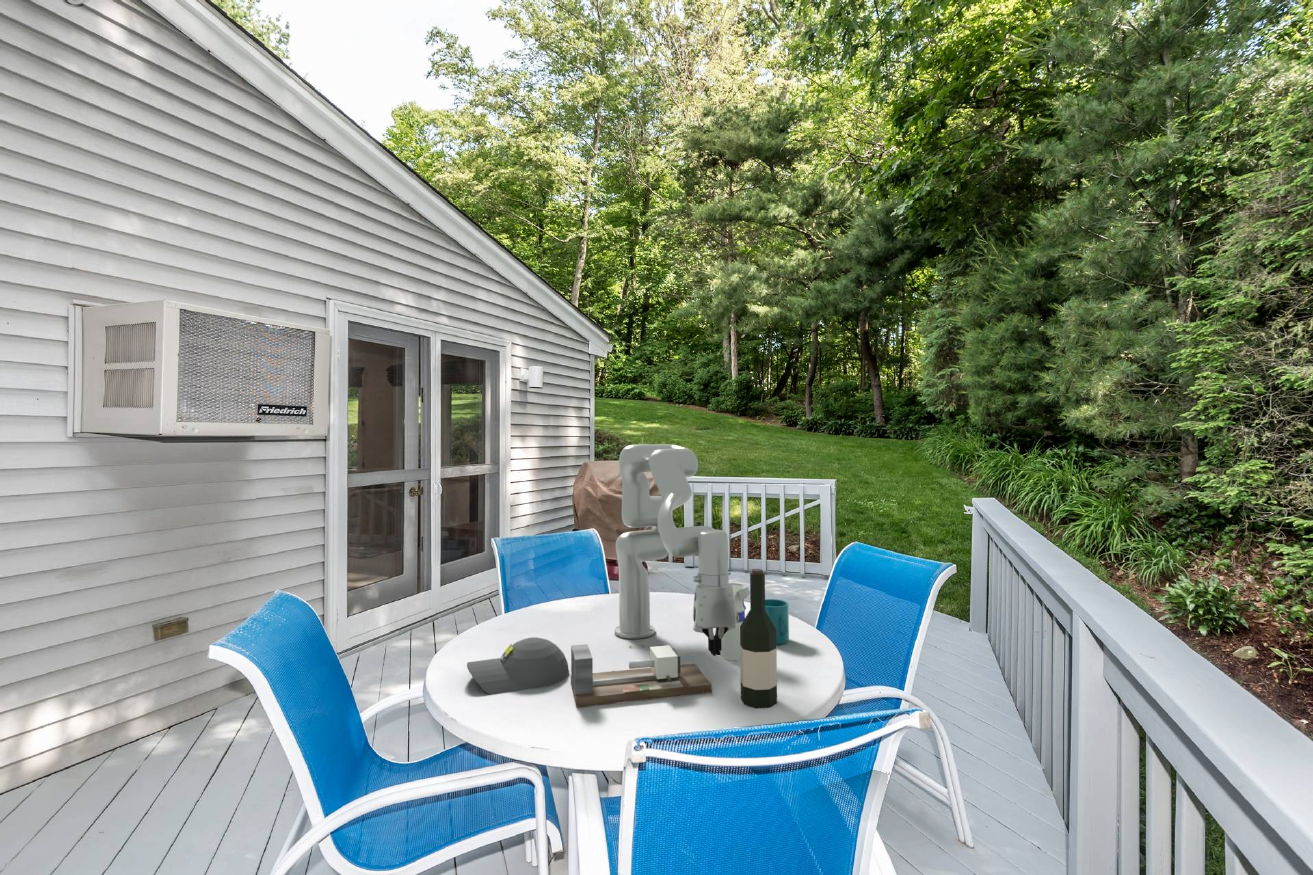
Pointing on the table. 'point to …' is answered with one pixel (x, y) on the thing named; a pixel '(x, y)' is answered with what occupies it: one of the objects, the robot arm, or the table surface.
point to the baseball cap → (521, 667)
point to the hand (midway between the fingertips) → (715, 653)
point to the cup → (779, 618)
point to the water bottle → (733, 636)
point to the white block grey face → (661, 662)
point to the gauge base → (628, 682)
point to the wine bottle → (758, 650)
